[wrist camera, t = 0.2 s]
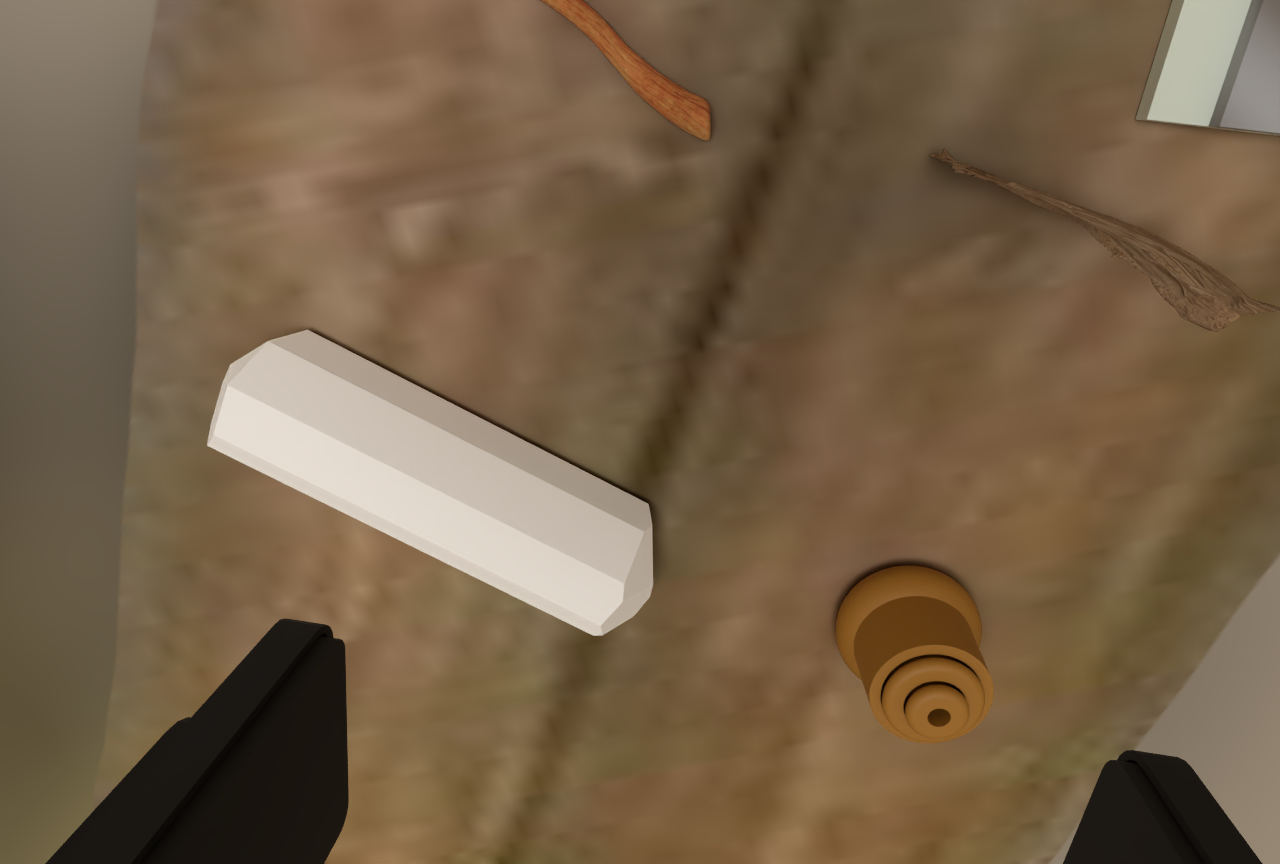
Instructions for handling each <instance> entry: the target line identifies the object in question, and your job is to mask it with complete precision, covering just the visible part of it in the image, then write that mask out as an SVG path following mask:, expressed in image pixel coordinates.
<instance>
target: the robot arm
mask: <svg viewBox="0 0 1280 864" xmlns="http://www.w3.org/2000/svg"><path fill="white" fill-rule="evenodd" d="M347 810H348V755H347V710H346V665H345V644H344V642H343V640H341V639H336V638H333V632H332V630H331V628H330V626H328V625H324V624H318V623H311V622H305V621H298V620H292V619H281V620H279V621H278V622H277V623H276V624H275V625H274V626H273V627H272V628H271V629H270V630H269V631H268V633H267V634H266V635H265V636H264V637H263V638H262V639H261V640H260V641H259V643H258V644H257V645H256V646H255V647H254V648H253V649H252V650H251V651H250V653H249V654H248V655H247V656H246V657H245V658H244V659H243V660H242V662H241V663H240V664H239V665H238V666H237V667H236V668H235V669H234V670H233V672H232V673H231V674H230V675H229V676H228V677H227V678H226V679H225V681H224V682H223V683H222V684H221V685H220V686H219V687H218V688H217V689H216V691H215V692H214V693H213V694H212V695H211V696H210V697H209V698H208V699H207V701H206V702H205V703H204V704H203V705H202V706H201V707H200V708H199V710H198V711H197V712H196V713H195V714H194V715H193V716H192V717H191V718H190V717H187V718H185V719H183V720H180V721H178V722H177V723H176V724H174V725H173V726H172V727H171V728H170V729H169V730H168V731H167V732H166V733H165V734H164V735H163V736H162V737H161V738H160V739H159V740H158V741H157V742H156V744H155V745H154V746H153V747H152V748H151V749H150V750H149V751H148V752H147V753H146V754H145V756H144V757H143V758H142V759H141V760H140V761H139V762H138V763H137V764H136V765H135V766H134V768H133V769H132V770H131V771H130V772H129V773H128V774H127V775H126V776H125V777H124V778H123V780H122V781H121V782H120V783H119V784H118V785H117V786H116V787H115V788H114V789H113V790H112V792H111V793H110V794H109V795H108V796H107V797H106V798H105V799H104V800H103V801H102V802H101V804H100V805H99V806H98V807H97V808H96V809H95V810H94V811H93V812H92V813H91V814H90V816H89V817H88V818H87V819H86V820H85V821H84V822H83V823H82V824H81V825H80V827H79V828H78V829H77V830H76V831H75V832H74V833H73V834H72V835H71V836H70V838H68V840H67V841H66V842H65V843H64V844H63V845H62V846H61V847H60V848H59V849H58V851H57V852H56V853H55V854H54V855H53V856H52V857H51V858H50V859H49V860H48V862H47V863H46V864H324V862H325V861H326V859H327V857H328V855H329V853H330V851H331V849H332V848H333V846H334V844H335V842H336V840H337V838H338V836H339V834H340V832H341V830H342V828H343V825H344V822H345V818H346V815H347ZM1063 864H1262V863H1261V861H1260V860H1259V859H1258V857H1257V856H1256V854H1255V853H1254V852H1253V850H1252V849H1251V848H1250V846H1249V845H1248V844H1247V842H1246V841H1245V839H1244V838H1243V837H1242V835H1241V834H1240V833H1239V831H1238V830H1237V829H1236V827H1235V826H1234V824H1233V823H1232V822H1231V820H1230V819H1229V818H1228V816H1227V815H1226V814H1225V813H1224V811H1223V810H1222V808H1221V807H1220V806H1219V804H1218V803H1217V801H1216V800H1215V799H1214V798H1213V796H1212V795H1211V793H1210V792H1209V790H1208V789H1207V788H1206V786H1205V785H1204V784H1203V782H1202V781H1201V780H1200V779H1199V777H1198V775H1197V774H1196V773H1195V771H1194V770H1193V769H1192V768H1191V766H1190V765H1189V764H1188V763H1187V762H1186V761H1184V760H1182V759H1180V758H1178V757H1173V756H1166V755H1160V754H1153V753H1147V752H1140V751H1134V750H1129V751H1125V752H1123V753H1122V754H1121V755H1120V756H1119V758H1118V759H1117V761H1116V760H1110V761H1108V762H1107V763H1106V764H1105V765H1104V767H1103V769H1102V771H1101V774H1100V776H1099V778H1098V781H1097V783H1096V786H1095V788H1094V790H1093V793H1092V795H1091V798H1090V800H1089V803H1088V805H1087V807H1086V810H1085V812H1084V815H1083V817H1082V819H1081V822H1080V824H1079V827H1078V829H1077V831H1076V834H1075V836H1074V839H1073V841H1072V843H1071V846H1070V848H1069V851H1068V853H1067V855H1066V858H1065V860H1064V863H1063Z"/></svg>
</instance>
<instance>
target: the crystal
mask: <svg viewBox="0 0 1280 864" xmlns="http://www.w3.org/2000/svg"><path fill="white" fill-rule="evenodd" d="M289 351H290V352H289ZM291 352H292V353H291ZM293 353H294V354H293ZM326 370H327V371H326ZM328 371H329V372H328ZM330 372H331V373H330ZM332 373H333V374H332ZM334 374H335V375H334ZM336 375H337V376H336ZM338 376H339V377H338ZM340 377H341V378H340ZM342 378H343V379H342ZM344 379H345V380H344ZM346 380H347V381H346ZM348 381H349V382H348ZM350 382H351V383H350ZM352 383H353V384H352ZM354 384H355V385H354ZM393 404H394V405H393ZM395 405H396V406H395ZM397 406H398V407H397ZM399 407H400V408H399ZM401 408H402V409H401ZM403 409H404V410H403ZM405 410H406V411H405ZM407 411H408V412H407ZM409 412H410V413H409ZM411 413H412V414H411ZM413 414H414V415H413ZM415 415H416V416H415ZM460 438H461V439H460ZM462 439H463V440H462ZM464 440H465V441H464ZM466 441H467V442H466ZM468 442H469V443H468ZM470 443H471V444H470ZM472 444H473V445H472ZM474 445H475V446H474ZM207 446H209V447H211V448H213V449H215V450H217V451H219V452H221V453H223V454H225V455H227V456H229V457H231V458H233V459H235V460H237V461H239V462H241V463H244V464H246V465H248V466H250V467H252V468H254V469H256V470H258V471H260V472H262V473H264V474H266V475H268V476H270V477H272V478H274V479H276V480H278V481H280V482H282V483H284V484H286V485H288V486H290V487H292V488H294V489H296V490H298V491H300V492H302V493H304V494H307V495H309V496H311V497H313V498H315V499H317V500H319V501H321V502H323V503H325V504H327V505H329V506H331V507H333V508H335V509H337V510H339V511H341V512H343V513H345V514H347V515H349V516H351V517H353V518H355V519H357V520H359V521H361V522H363V523H365V524H368V525H370V526H372V527H374V528H376V529H378V530H380V531H382V532H384V533H386V534H388V535H390V536H392V537H394V538H396V539H398V540H400V541H402V542H404V543H406V544H408V545H410V546H412V547H414V548H416V549H418V550H420V551H422V552H424V553H426V554H428V555H431V556H433V557H435V558H437V559H439V560H441V561H443V562H445V563H447V564H449V565H451V566H453V567H455V568H457V569H459V570H461V571H463V572H465V573H467V574H469V575H471V576H473V577H475V578H477V579H479V580H481V581H483V582H485V583H487V584H489V585H491V586H494V587H496V588H498V589H500V590H502V591H504V592H506V593H508V594H510V595H512V596H514V597H516V598H518V599H520V600H522V601H524V602H526V603H528V604H530V605H532V606H534V607H536V608H538V609H540V610H542V611H544V612H546V613H548V614H550V615H552V616H554V617H557V618H559V619H561V620H563V621H565V622H567V623H569V624H571V625H573V626H575V627H577V628H579V629H581V630H583V631H585V632H587V633H589V634H591V635H593V636H596V635H604V634H605V633H607V632H609V631H610V630H612V629H614V628H615V627H617V626H619V625H620V624H622V623H624V622H625V621H627V620H628V619H630V618H632V617H633V616H634V615H635V614H636V613H637V612H638V611H639V609H640V608H641V607H642V606H643V605H644V603H645V602H646V601H647V600H648V599H649V597H650V595H651V591H652V587H653V542H652V520H651V515H650V509H649V504H648V503H646V502H644V501H642V500H640V499H638V498H636V497H634V496H632V495H630V494H628V493H626V492H624V491H622V490H620V489H618V488H616V487H614V486H612V485H611V484H609V483H607V482H605V481H603V480H601V479H599V478H597V477H595V476H593V475H591V474H589V473H587V472H585V471H583V470H581V469H579V468H577V467H575V466H573V465H571V464H569V463H567V462H566V461H564V460H562V459H560V458H558V457H556V456H554V455H552V454H550V453H548V452H546V451H544V450H542V449H540V448H538V447H536V446H534V445H532V444H530V443H528V442H526V441H524V440H522V439H521V438H519V437H517V436H515V435H513V434H511V433H509V432H507V431H505V430H503V429H501V428H499V427H497V426H495V425H493V424H491V423H489V422H487V421H485V420H483V419H481V418H479V417H477V416H476V415H474V414H472V413H470V412H468V411H466V410H464V409H462V408H460V407H458V406H456V405H454V404H452V403H450V402H448V401H446V400H444V399H442V398H440V397H438V396H436V395H434V394H432V393H431V392H429V391H427V390H425V389H423V388H421V387H419V386H417V385H415V384H413V383H411V382H409V381H407V380H405V379H403V378H401V377H399V376H397V375H395V374H393V373H391V372H389V371H387V370H386V369H384V368H382V367H380V366H378V365H376V364H374V363H372V362H370V361H368V360H366V359H364V358H362V357H360V356H358V355H356V354H354V353H352V352H350V351H348V350H346V349H344V348H342V347H341V346H339V345H337V344H335V343H333V342H331V341H329V340H327V339H325V338H323V337H321V336H319V335H317V334H315V333H313V332H311V331H309V330H305V331H301V332H297V333H294V334H290V335H287V336H283V337H280V338H276V339H273V340H269V341H267V342H266V343H264V344H262V345H261V346H259V347H258V348H256V349H254V350H253V351H251V352H250V353H248V354H246V355H245V356H243V357H242V358H240V359H238V360H237V361H235V362H234V363H232V364H230V366H229V369H228V371H227V374H226V376H225V378H224V381H223V383H222V387H221V390H220V394H219V397H218V401H217V404H216V408H215V411H214V415H213V418H212V422H211V427H210V432H209V438H208V443H207ZM476 446H477V447H476ZM527 472H528V473H527ZM529 473H530V474H529ZM531 474H532V475H531ZM533 475H534V476H533ZM535 476H536V477H535ZM594 506H595V507H594ZM596 507H597V508H596Z"/></svg>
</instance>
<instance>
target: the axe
mask: <svg viewBox="0 0 1280 864" xmlns="http://www.w3.org/2000/svg"><path fill="white" fill-rule="evenodd" d="M541 1H542V2H544V3H546V4H547V5H549V6H550V7H552V8H553V9H555V10H556V11H558V12H559V13H560V14H562V15H563V16H565V17H566V18H567V19H569V20H570V21H571V22H572V23H574V24H575V25H576V26H577V27H578V28H579V29H580V30H582V31H583V32H584V33H585V34H586V35H587V36H588V37H589V38H590V39H591V40H592V41H593V42H594V43H595V44H596V46H597V47H598V48H599V49H600V50H601V51H602V52H603V54H604V55H605V56H606V57H607V58H608V59H609V61H610V62H611V63H612V64H613V65H614V67H615V68H616V69H617V70H618V71H619V73H620V74H621V75H622V76H623V77H624V79H625V80H626V81H627V82H628V83H629V85H630V86H631V87H632V88H633V89H634V90H635V91H636V92H637V94H638V95H640V96H641V97H642V98H643V99H644V100H645V101H646V102H647V103H649V104H650V105H651V106H652V107H653V108H654V109H656V110H657V111H658V112H659V113H661V114H662V115H663V116H664V117H666V118H667V119H668V120H669V121H671V122H672V123H674V124H675V125H677V126H678V127H680V128H681V129H683V130H685V131H686V132H688V133H689V134H691V135H693V136H695V137H697V138H699V139H702V140H705V141H707V140H709V138H710V128H711V122H710V106H709V103H708V102H707V101H706V100H705V99H703V98H701V97H699V96H697V95H695V94H693V93H690V92H689V91H687V90H685V89H683V88H682V87H680V86H679V85H677V84H675V83H674V82H672V81H671V80H669V79H668V78H666V77H665V76H663V75H662V74H660V73H659V72H658V71H656V70H655V69H654V68H652V67H651V66H650V65H649V64H647V63H646V62H645V61H644V60H643V59H642V58H640V57H639V56H638V55H637V54H636V53H635V52H633V51H632V50H631V49H630V48H629V47H628V46H627V45H626V44H625V43H624V42H623V41H622V40H621V38H620V37H619V36H618V35H617V34H616V33H615V32H614V31H613V29H612V28H611V27H610V26H609V25H608V24H607V23H606V21H605V20H604V19H603V18H602V17H601V16H600V15H599V14H597V13H596V12H595V11H594V10H593V9H592V8H591V7H590V6H589V5H587V4H586V3H585V2H584V1H583V0H541Z"/></svg>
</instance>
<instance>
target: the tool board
mask: <svg viewBox="0 0 1280 864" xmlns="http://www.w3.org/2000/svg"><path fill="white" fill-rule="evenodd" d="M1251 1H1252V0H1172V3H1171V6H1170V10H1169V13H1168V16H1167V19H1166V22H1165V26H1164V29H1163V32H1162V35H1161V38H1160V42H1159V45H1158V48H1157V51H1156V55H1155V58H1154V61H1153V64H1152V67H1151V71H1150V74H1149V77H1148V80H1147V83H1146V87H1145V90H1144V93H1143V96H1142V99H1141V103H1140V106H1139V109H1138V112H1137V116H1136V119H1135V120H1143V121H1152V122H1161V123H1169V124H1178V125H1187V126H1196V127H1204V128H1213V129H1222V130H1231V131H1239V132H1248V133H1257V134H1266V135H1274V136H1280V135H1279V134H1270V133H1261V132H1252V131H1244V130H1235V129H1226V128H1217V127H1209V123H1210V120H1211V117H1212V114H1213V112H1214V109H1215V106H1216V103H1217V100H1218V97H1219V94H1220V91H1221V88H1222V85H1223V82H1224V79H1225V77H1226V74H1227V71H1228V68H1229V65H1230V62H1231V59H1232V56H1233V53H1234V50H1235V47H1236V45H1237V42H1238V39H1239V36H1240V33H1241V30H1242V27H1243V24H1244V21H1245V18H1246V15H1247V12H1248V10H1249V7H1250V4H1251Z"/></svg>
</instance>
